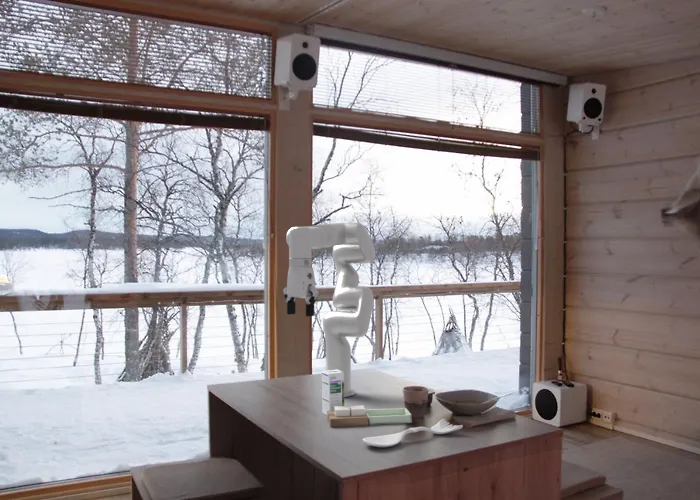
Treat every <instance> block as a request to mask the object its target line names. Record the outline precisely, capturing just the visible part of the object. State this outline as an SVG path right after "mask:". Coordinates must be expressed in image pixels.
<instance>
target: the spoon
mask: <svg viewBox="0 0 700 500" xmlns="http://www.w3.org/2000/svg"><path fill="white" fill-rule="evenodd" d="M463 427H464V425H463V424H460V425H457V424H455V425H453V424H450V422H448V420H446V418H442V419H440V420H439V421H438V422H437V423H436V424H434V425H433V426H431V428H430V427H427V426H426V427H425V426H416V427H409V428H408V429H405V430H403V431H400V432H397V433H391V434H384V435H377V436H367V437H364V438H362V442H363V443H364V444H365V445H367V446H371V447H376V448H389V447H393V446H395V445H398V444H399V443H400V442H402V440H403V438H404V436H405V435H408V434H410V433H418V432H420V431H425V432H429V433H431V434H435V435H444V434H448V433H452V432H456V431H458V430H461V429H462V428H463Z"/></svg>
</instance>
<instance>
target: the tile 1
mask: <svg viewBox="0 0 700 500" xmlns="http://www.w3.org/2000/svg"><path fill="white" fill-rule="evenodd" d="M334 413H335V416H350V406H348V405H344V406H335V407H334Z"/></svg>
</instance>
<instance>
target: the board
mask: <svg viewBox="0 0 700 500" xmlns="http://www.w3.org/2000/svg"><path fill="white" fill-rule="evenodd" d="M326 416H327V417H326V418H327V422H328V425H329V427H330V428H334V427H335V428H339V427H359V426H360V427H362V426H364V427H365V426H369V423H368V416H367V414H366V413H365V415H358V416H351V414H350V416H335V413H334V411H327V415H326Z"/></svg>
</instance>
